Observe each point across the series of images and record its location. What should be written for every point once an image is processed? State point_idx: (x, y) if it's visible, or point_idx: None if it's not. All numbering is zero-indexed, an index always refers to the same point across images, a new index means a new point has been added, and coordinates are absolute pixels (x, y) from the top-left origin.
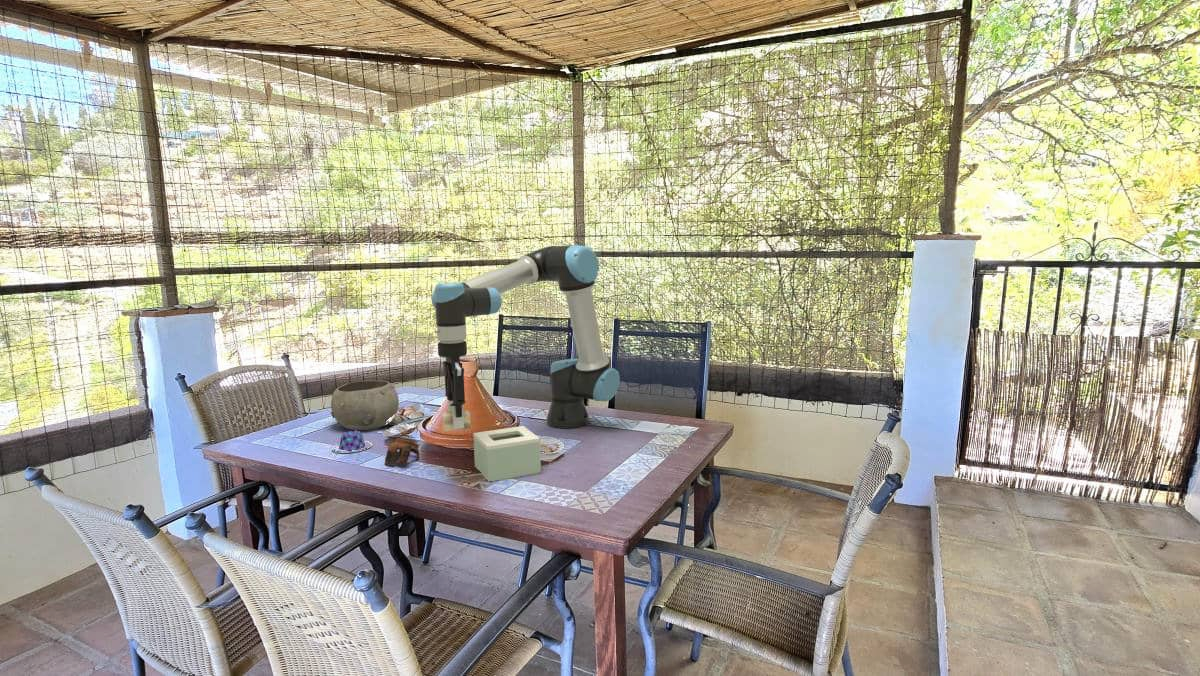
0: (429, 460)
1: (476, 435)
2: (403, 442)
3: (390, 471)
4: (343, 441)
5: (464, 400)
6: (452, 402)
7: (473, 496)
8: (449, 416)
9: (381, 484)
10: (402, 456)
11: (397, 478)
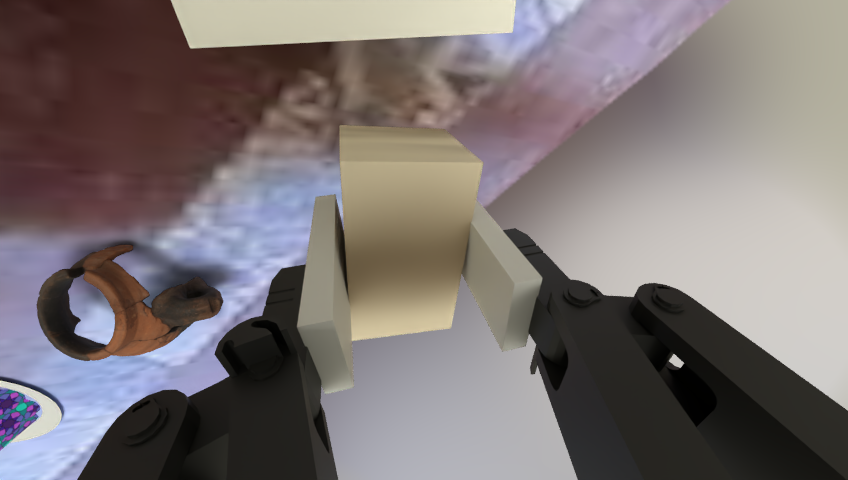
0: (142, 209)
1: (262, 40)
2: (134, 331)
3: (250, 302)
4: (2, 447)
5: (706, 313)
6: (346, 351)
7: (529, 113)
8: (456, 298)
9: None
10: (221, 305)
11: None
